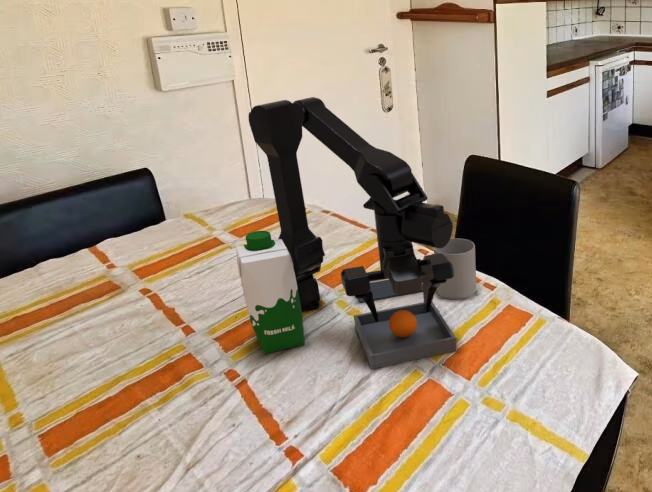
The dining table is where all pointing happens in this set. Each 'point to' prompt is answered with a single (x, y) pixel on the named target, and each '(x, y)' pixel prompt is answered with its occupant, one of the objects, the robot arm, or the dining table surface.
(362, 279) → the robot arm
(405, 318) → the ball
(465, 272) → the cup
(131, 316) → the dining table surface
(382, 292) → the mat
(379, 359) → the shallow grey tray
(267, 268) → the milk carton
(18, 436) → the dining table surface
